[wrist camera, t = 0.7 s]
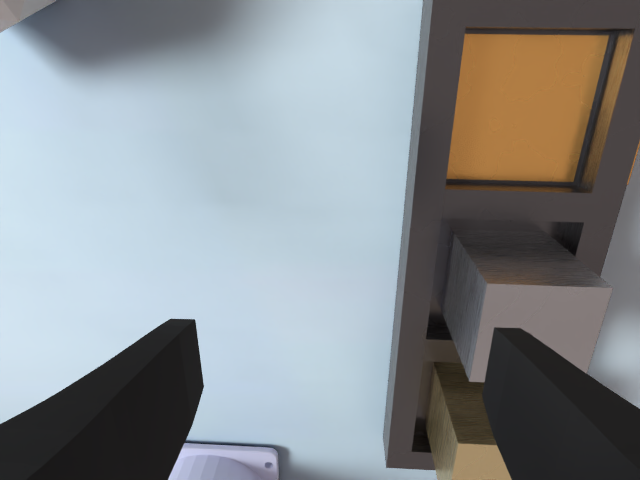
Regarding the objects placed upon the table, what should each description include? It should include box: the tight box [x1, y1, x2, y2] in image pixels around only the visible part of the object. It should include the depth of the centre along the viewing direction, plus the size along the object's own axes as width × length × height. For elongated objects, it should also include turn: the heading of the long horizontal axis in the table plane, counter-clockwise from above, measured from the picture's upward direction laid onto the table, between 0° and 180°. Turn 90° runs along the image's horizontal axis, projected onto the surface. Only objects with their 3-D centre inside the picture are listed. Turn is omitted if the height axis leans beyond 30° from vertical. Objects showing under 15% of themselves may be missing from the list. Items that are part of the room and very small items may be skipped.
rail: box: [383, 0, 640, 470], centre depth 19 cm, size 22×8×2 cm, turn 179°
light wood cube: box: [425, 362, 512, 480], centre depth 20 cm, size 4×4×5 cm
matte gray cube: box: [441, 229, 613, 382], centre depth 17 cm, size 4×4×5 cm
